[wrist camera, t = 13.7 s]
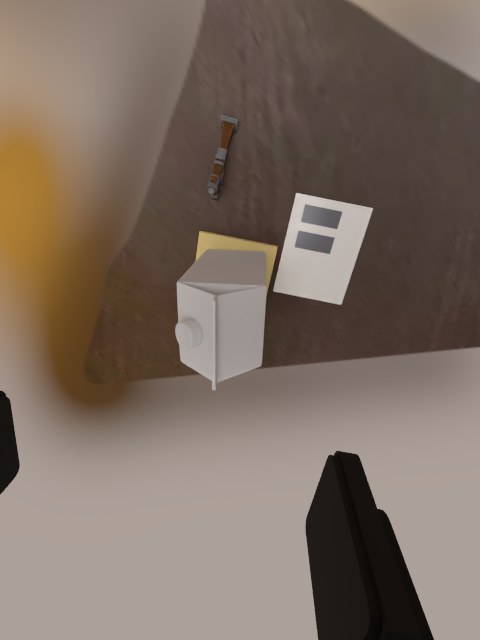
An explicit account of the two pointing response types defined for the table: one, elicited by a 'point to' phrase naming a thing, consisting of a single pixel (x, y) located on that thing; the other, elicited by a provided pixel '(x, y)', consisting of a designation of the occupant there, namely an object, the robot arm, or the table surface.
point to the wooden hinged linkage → (221, 155)
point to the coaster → (236, 248)
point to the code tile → (321, 248)
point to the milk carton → (222, 313)
